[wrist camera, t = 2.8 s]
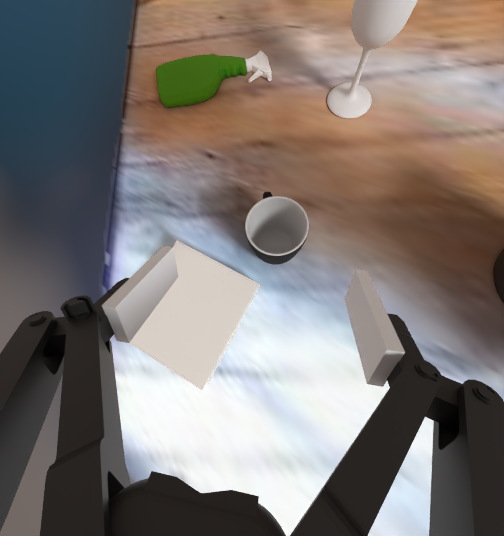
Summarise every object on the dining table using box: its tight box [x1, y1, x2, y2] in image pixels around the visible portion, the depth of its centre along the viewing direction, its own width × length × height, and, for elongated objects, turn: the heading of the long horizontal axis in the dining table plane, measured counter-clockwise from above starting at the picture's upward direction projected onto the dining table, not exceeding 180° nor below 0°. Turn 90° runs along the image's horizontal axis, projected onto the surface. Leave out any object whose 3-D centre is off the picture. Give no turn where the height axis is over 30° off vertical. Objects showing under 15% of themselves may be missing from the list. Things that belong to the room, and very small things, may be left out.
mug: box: [245, 192, 309, 264], centre depth 37 cm, size 12×9×10 cm
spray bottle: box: [156, 50, 272, 108], centre depth 50 cm, size 3×11×24 cm
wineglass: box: [327, 0, 417, 119], centre depth 36 cm, size 9×9×21 cm
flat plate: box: [130, 241, 260, 390], centre depth 39 cm, size 18×16×4 cm
